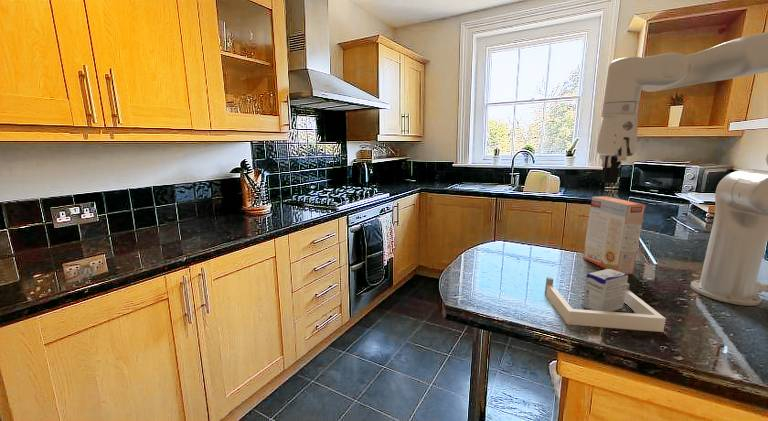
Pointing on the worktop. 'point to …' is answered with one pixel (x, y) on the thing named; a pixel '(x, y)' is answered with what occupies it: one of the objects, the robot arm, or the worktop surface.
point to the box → (605, 290)
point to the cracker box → (613, 233)
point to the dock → (608, 313)
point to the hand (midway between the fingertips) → (608, 182)
